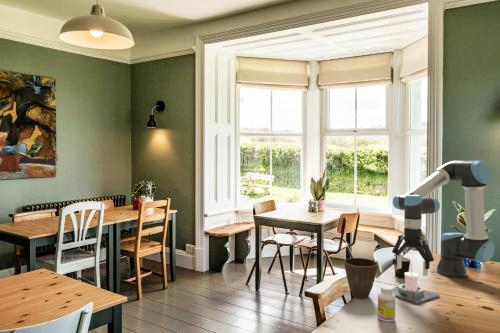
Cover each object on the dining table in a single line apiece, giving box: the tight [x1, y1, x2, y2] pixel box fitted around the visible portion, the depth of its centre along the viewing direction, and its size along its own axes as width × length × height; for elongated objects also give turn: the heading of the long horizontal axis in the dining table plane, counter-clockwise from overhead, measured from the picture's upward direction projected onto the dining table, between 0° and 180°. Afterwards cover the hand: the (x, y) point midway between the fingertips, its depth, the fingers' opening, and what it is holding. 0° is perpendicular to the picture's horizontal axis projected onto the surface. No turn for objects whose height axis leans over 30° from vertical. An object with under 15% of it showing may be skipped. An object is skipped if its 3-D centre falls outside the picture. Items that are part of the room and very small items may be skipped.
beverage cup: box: [404, 262, 419, 291], centre depth 184 cm, size 6×6×14 cm
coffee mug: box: [392, 256, 411, 280], centre depth 213 cm, size 12×9×10 cm
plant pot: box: [343, 257, 378, 299], centre depth 181 cm, size 15×15×16 cm
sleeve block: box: [393, 283, 440, 306], centre depth 184 cm, size 18×18×4 cm
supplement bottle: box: [377, 285, 396, 323], centre depth 156 cm, size 7×7×13 cm
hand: (411, 272), depth 184 cm, fingers open, 13 cm apart
